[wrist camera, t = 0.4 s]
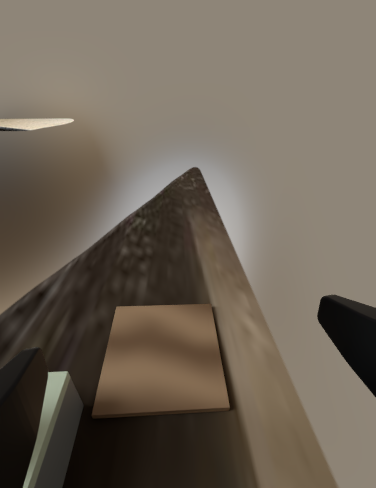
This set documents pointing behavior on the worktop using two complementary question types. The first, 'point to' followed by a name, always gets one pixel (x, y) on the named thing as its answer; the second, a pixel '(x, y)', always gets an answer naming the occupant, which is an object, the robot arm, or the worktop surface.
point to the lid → (47, 422)
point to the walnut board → (161, 363)
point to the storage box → (61, 441)
